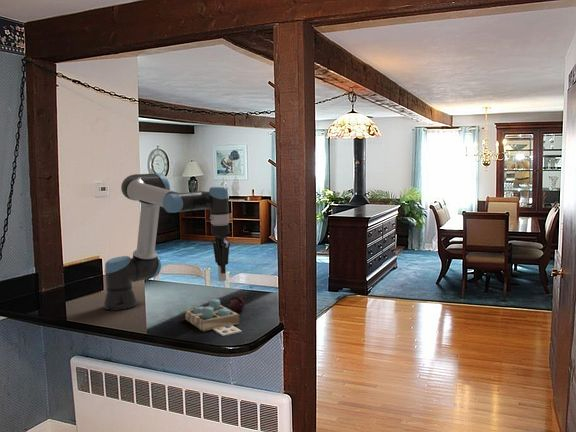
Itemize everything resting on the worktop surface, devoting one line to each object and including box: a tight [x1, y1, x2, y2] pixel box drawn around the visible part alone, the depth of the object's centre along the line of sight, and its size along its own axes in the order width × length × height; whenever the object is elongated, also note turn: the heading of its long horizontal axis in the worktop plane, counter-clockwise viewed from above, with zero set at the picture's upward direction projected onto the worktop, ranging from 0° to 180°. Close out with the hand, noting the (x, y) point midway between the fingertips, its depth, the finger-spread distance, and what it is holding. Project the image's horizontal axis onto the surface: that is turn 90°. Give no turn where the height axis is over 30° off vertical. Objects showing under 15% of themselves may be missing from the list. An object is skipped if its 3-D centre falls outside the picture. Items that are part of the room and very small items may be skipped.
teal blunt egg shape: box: [208, 298, 221, 311], centre depth 223 cm, size 5×5×5 cm
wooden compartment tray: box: [184, 304, 240, 332], centre depth 218 cm, size 20×16×4 cm
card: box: [212, 324, 242, 337], centre depth 205 cm, size 10×8×1 cm
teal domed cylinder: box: [202, 306, 214, 320], centre depth 211 cm, size 5×5×5 cm
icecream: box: [227, 295, 247, 313], centre depth 233 cm, size 7×7×15 cm
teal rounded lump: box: [192, 306, 205, 314], centre depth 220 cm, size 5×5×5 cm
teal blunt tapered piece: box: [218, 308, 231, 317], centre depth 215 cm, size 5×5×5 cm
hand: (222, 280), depth 214 cm, fingers closed
